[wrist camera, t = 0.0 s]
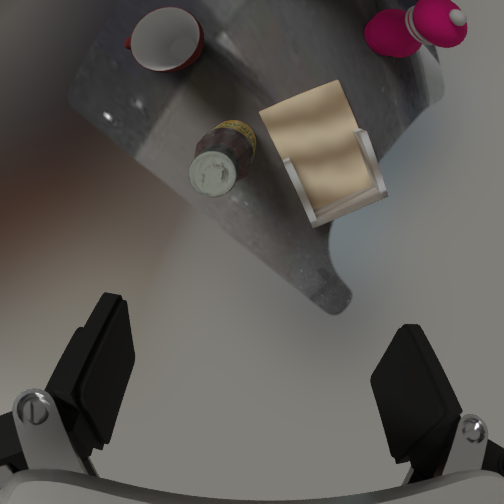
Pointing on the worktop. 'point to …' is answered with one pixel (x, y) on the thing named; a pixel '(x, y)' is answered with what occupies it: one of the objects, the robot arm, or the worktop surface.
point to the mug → (166, 40)
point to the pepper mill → (416, 28)
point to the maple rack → (325, 153)
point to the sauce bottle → (222, 158)
